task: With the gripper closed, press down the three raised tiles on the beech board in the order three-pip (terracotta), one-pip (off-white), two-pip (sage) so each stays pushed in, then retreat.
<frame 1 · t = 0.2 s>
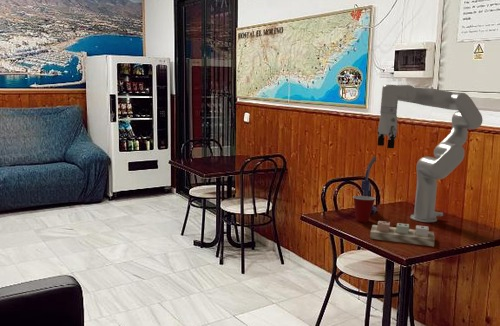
hand: (385, 146, 242), 36 cm above the table, tool pointing down, fingers open, 9 cm apart
tile one: (422, 230, 216), point 4 cm above the table, slide at 0.0 cm
plastic cup: (362, 221, 246), on the table
board: (401, 238, 219), on the table
tile three: (383, 226, 221), point 4 cm above the table, slide at 0.0 cm
tile two: (402, 228, 219), point 4 cm above the table, slide at 0.0 cm
hand press: (367, 211, 266), on the table
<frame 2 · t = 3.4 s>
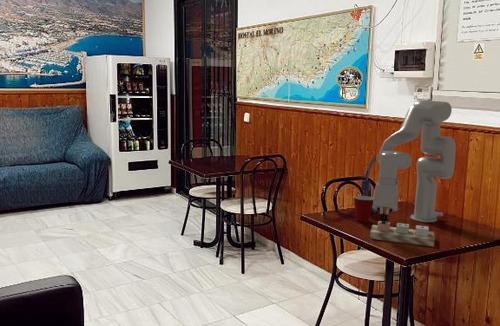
hand: (383, 222, 220), 6 cm above the table, tool pointing down, fingers closed
tile three: (383, 226, 221), point 4 cm above the table, slide at 0.0 cm, touching gripper
everything else where it was.
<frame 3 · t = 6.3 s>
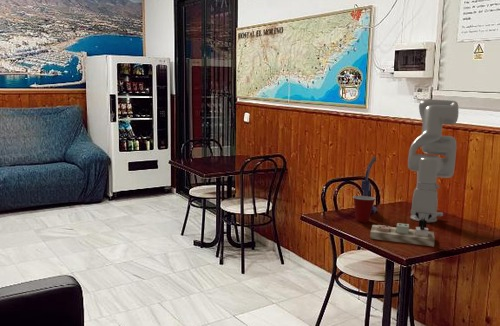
hand: (422, 228, 216), 6 cm above the table, tool pointing down, fingers closed
tile one: (421, 232, 216), point 4 cm above the table, slide at 0.7 cm, touching gripper
tile three: (383, 230, 221), point 3 cm above the table, slide at 1.8 cm
everything else where it was.
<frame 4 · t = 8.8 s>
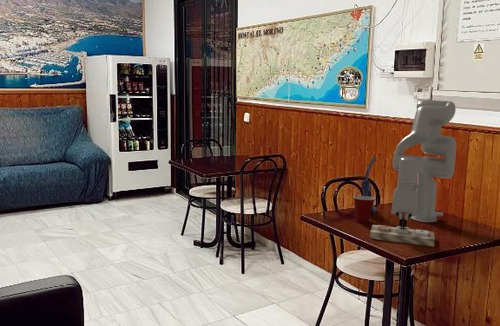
hand: (402, 227, 218), 5 cm above the table, tool pointing down, fingers closed
tile one: (421, 235, 217), point 3 cm above the table, slide at 1.8 cm
tile two: (402, 231, 219), point 3 cm above the table, slide at 1.4 cm, touching gripper
everything else where it was.
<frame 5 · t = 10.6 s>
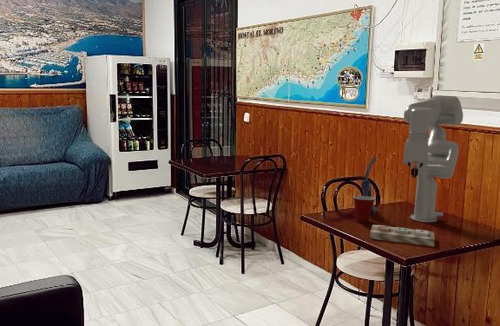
hand: (414, 177, 228), 25 cm above the table, tool pointing down, fingers closed
tile two: (402, 232, 219), point 3 cm above the table, slide at 1.9 cm
everything else where it was.
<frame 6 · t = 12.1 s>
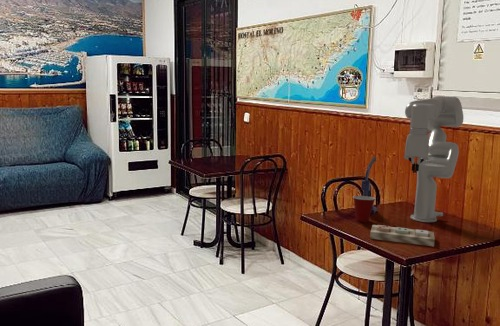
hand: (414, 172, 228), 27 cm above the table, tool pointing down, fingers closed
nothing on the table moved.
at the end: tile three slide at 1.8 cm; tile one slide at 1.8 cm; tile two slide at 1.9 cm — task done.
